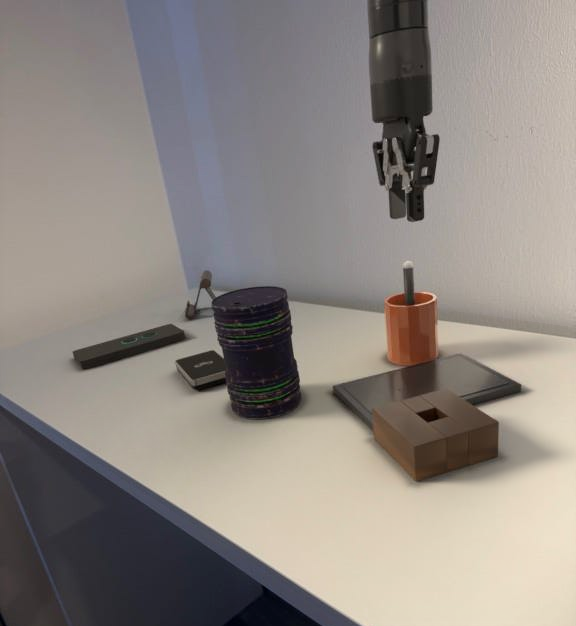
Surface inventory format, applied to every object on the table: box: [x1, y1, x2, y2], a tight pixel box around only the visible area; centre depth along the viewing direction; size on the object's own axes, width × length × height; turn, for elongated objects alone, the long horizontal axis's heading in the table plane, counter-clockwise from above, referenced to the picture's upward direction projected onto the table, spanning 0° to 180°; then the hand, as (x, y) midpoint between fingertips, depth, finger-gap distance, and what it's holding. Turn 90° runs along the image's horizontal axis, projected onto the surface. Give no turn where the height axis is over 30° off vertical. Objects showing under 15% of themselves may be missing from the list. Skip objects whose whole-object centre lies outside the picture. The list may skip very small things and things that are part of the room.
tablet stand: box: [184, 270, 217, 321], centre depth 119 cm, size 9×8×8 cm
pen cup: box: [383, 291, 439, 367], centre depth 80 cm, size 7×7×9 cm
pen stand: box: [372, 388, 500, 482], centre depth 57 cm, size 9×9×4 cm
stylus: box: [402, 260, 415, 306], centre depth 79 cm, size 1×1×14 cm
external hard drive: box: [174, 349, 227, 391], centre depth 86 cm, size 7×11×2 cm, turn 25°
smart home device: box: [72, 323, 186, 370], centre depth 104 cm, size 8×2×20 cm
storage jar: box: [210, 285, 302, 420], centre depth 71 cm, size 10×10×15 cm
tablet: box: [332, 352, 522, 433], centre depth 70 cm, size 20×13×1 cm, turn 107°
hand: (406, 218), depth 74 cm, fingers open, 4 cm apart
